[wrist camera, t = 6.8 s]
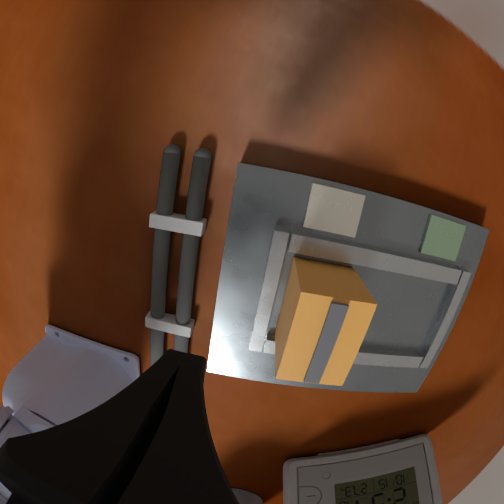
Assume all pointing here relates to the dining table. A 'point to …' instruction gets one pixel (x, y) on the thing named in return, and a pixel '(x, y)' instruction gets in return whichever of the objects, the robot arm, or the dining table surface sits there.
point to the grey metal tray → (347, 255)
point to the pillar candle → (246, 497)
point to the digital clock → (366, 475)
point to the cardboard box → (321, 323)
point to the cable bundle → (192, 231)
